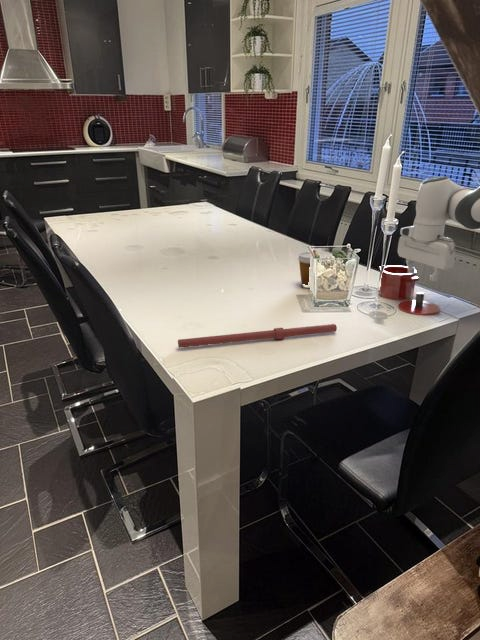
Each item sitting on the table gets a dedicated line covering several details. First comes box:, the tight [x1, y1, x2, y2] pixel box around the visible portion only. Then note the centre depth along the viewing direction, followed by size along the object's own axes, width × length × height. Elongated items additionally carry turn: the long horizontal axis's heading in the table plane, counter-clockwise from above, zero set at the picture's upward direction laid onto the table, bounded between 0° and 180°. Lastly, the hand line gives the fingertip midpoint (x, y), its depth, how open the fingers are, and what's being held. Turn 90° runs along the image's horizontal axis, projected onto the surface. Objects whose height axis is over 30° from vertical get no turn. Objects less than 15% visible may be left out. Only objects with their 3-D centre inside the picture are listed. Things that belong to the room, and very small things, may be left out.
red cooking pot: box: [378, 265, 420, 301], centre depth 161 cm, size 12×17×10 cm
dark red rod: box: [177, 323, 338, 349], centre depth 129 cm, size 45×3×3 cm, turn 102°
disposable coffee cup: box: [297, 251, 311, 285], centre depth 174 cm, size 10×10×12 cm
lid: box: [397, 291, 441, 316], centre depth 149 cm, size 13×13×6 cm
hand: (421, 276), depth 146 cm, fingers open, 8 cm apart
